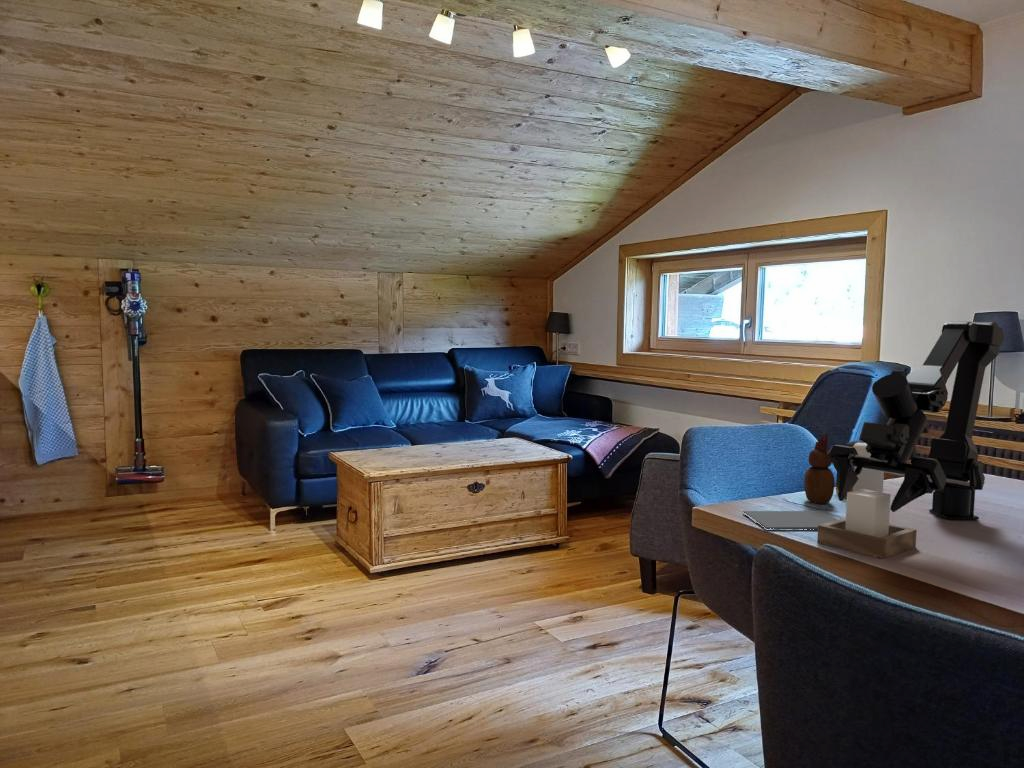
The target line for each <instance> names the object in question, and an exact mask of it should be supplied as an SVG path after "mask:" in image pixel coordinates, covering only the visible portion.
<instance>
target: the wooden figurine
mask: <svg viewBox="0 0 1024 768" xmlns="http://www.w3.org/2000/svg"><path fill="white" fill-rule="evenodd" d="M820 435H821V436H820V438H818V440H817V441H815V445H814V449H812V450H810V452H809V455H808V463H809V465H810V467H808V468H807V470H806V471H805V473H804V474H805V475H804V479H803V480H804V481H803V486H804V493H805V497H806V499H807V500H808V501H809V502H810V503H813V504H818V505H824V504H828V503H829V502H831V500H832V498H833V495H834V492H835V491H834V490H835V476H834V473H833V471H832V470H831V468H830V467H831V466H832V465H833V464H832V462H831V460H830V458H829V456H828V455H827V454H828V453H829V451H830V450H828V433H825V435H823V434H820Z"/></svg>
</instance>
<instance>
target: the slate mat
mask: <svg viewBox="0 0 1024 768" xmlns="http://www.w3.org/2000/svg"><path fill="white" fill-rule="evenodd" d="M743 512H744V513H746V514H747V515H749V516H750V517H752V518H753V519H755V520H756V521H757V522H759V523H760V524H761V525H762V526H764V527H765V528H766V529H770V528H771V529H773V528H774V529H803V530H802V531H805V530H804V529H807V530H806V531H818V525H821V524H824V523H828V522H832V521H835V520H839V519H838V518H836V517H834V516H832V515H830V514H828V513H826V512H825V511H823V510H743V511H742V513H743ZM810 529H811V530H810ZM813 529H814V530H813Z"/></svg>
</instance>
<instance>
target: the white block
mask: <svg viewBox="0 0 1024 768" xmlns="http://www.w3.org/2000/svg"><path fill="white" fill-rule="evenodd" d="M890 507H891V494H890V493H885V492H883V493H881V492H876V491H871V490H865V489H860V490H856V491H851V492H847V497H846V508H845V509H846V510H845V511H846V512H845V518H846V526H845V530H849V531H853V532H858V533H862V534H866V535H870V536H875V537H879V538H880V537H883V536H886V535H888V532H889V524H890V511H891V509H890Z"/></svg>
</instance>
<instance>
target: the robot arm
mask: <svg viewBox="0 0 1024 768" xmlns="http://www.w3.org/2000/svg"><path fill="white" fill-rule="evenodd" d="M941 328H942V329H941V334H940V335H939V337H938V338H937V340H936V342H935V344H934V346H933V347H932V349H931V351H930V352H929V353H928V356H927V357H926V358H925V360H924V361H923V363H922V365H921V367H920V368H918V369H916V370H914V371H912V372H910V373H908V374H907V375H906V373H905V372H906V371H904V370H896V369H895V370H892V371H891V372H890V374H887V375H884V376H882V377H880V378H879V379H877V380H876V381H874V383H872V387H871V391H872V393H873V395H874V398H875V399H876V401H877V404H878V406H879V408H880V409H881V412H882V414H883V416H885V417H887V418H889V419H888V421H887V424H885V423H877V422H868V421H864V422H863V424H862V426H861V427H862V428H861V430H860V431H861V432H860V434H859V437H858V440H859V441H863V442H865V443H866V444H867V446H866V450H867V452H868V453H870V454H871V455H870V457H867V456H861V455H858V453H857V451H856V449H855V447H849V446H846V445H841V444H834V445H832V446H831V447H830V449H829V450H828V451H829V453H828V454H827V455H828V456H829V458H830V460H831V462H832V464H831V465H833V467H834V469H835V471H836V473H837V472H838V473H839V475H840V478H839V491H838V493H837V498H838V500H839V501H840V502H843V501H844V499H847V497H846V496H847V492H850V491H851V489H852V488H853V486H854V485H855V483H856V482H857V481H858V477H857V475H859V474H860V473H861V471H862V468H868V469H874V470H880V471H883V472H884V473H888V474H893V475H899V476H904V477H903V481H902V482H901V484H900V487H899V489H898V490H897V492H896V494H895V495H894V497H893V500H892V502H891V503H890V511H891V512H892V513H895V512H897V511H898V510H900V509H901V508H902V507H904V506H906V505H908V504H909V503H911V502H913V501H914V500H917V499H918V498H920V497H922V496H924V495H926V494H932V502H931V503H932V505H931V506H932V507H931V508H929V510H928V512H929V513H931V514H934V515H936V516H939V517H941V518H944V519H946V520H980V517H979V515H975V501H976V500H975V499H976V497H975V496H976V491H983V488H984V485H985V479H986V477H985V474H984V471H983V469H982V467H981V464H980V462H979V451H978V450H977V449H978V448H977V447H976V445H975V442H974V441H973V431H974V428H975V422H976V416H977V412H978V408H979V407H978V406H979V403H980V397H981V393H982V386H983V381H984V377H985V376H984V375H985V372H986V368H987V367H988V366H989V365H990V364H991V363H992V362H993V361H994V360H995V359H996V358H997V357H998V355H999V351H1000V347H1001V345H1002V344H1003V343H1004V339H1005V333H1004V329H1003V328H1002V327H1000V326H999V325H998V323H997V322H995V321H952V320H951V321H948V322H945V323H944V324H943V325H942V327H941ZM956 366H957V367H956ZM955 368H956V371H955V372H956V373H955V376H954V377H955V378H954V382H953V387H952V391H951V392H952V393H951V396H950V401H949V407H948V413H947V418H946V422H945V427H944V432H943V433H942V434H941V435H940V436H939V437H938V438H937V437H934V438H933V439H932V440H931V442H930V451H929V452H928V456H927V457H924V456H918V455H917V453H918V451H917V449H916V446H917V444H918V442H919V439H920V438H921V437H922V436H921V435H922V434H928V433H929V432H930V431H929V430H930V427H929V425H928V418H927V416H926V413H933V414H935V413H937V414H938V413H940V411H941V410H942V409H943V407H945V406H946V403H947V401H948V396H949V392H948V389H947V385H946V384H947V382H948V379H949V378H950V377H951V375H952V374H953V372H954V369H955ZM911 457H912V458H911ZM910 458H911V460H910ZM909 460H910V463H908V462H909Z"/></svg>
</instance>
